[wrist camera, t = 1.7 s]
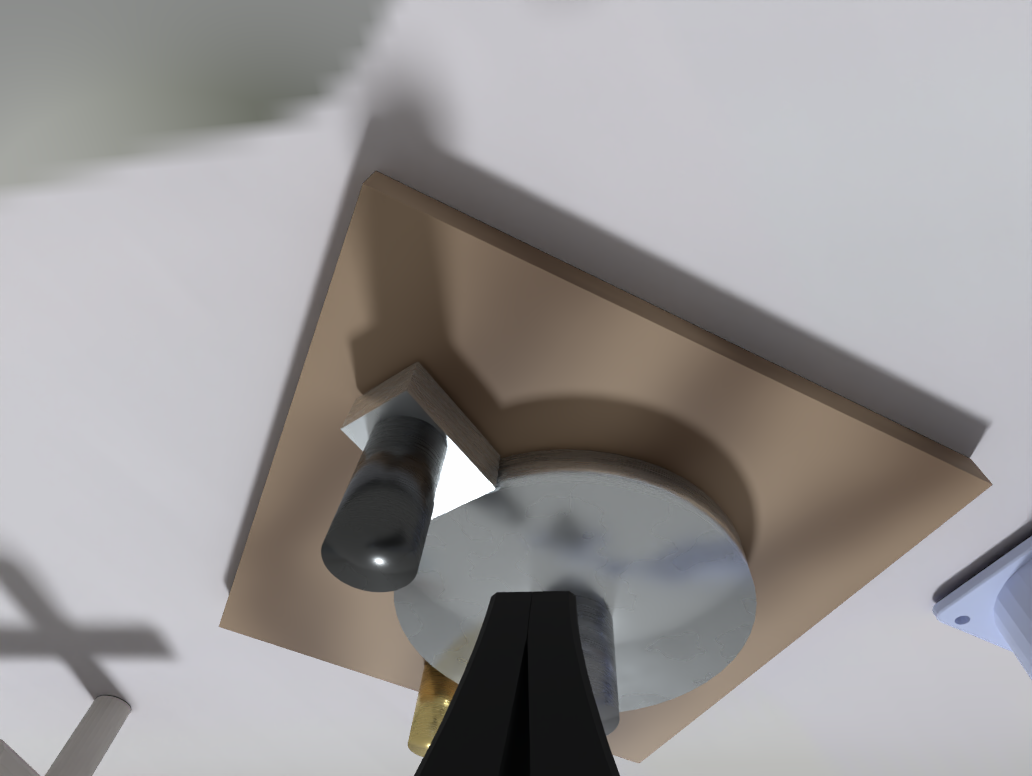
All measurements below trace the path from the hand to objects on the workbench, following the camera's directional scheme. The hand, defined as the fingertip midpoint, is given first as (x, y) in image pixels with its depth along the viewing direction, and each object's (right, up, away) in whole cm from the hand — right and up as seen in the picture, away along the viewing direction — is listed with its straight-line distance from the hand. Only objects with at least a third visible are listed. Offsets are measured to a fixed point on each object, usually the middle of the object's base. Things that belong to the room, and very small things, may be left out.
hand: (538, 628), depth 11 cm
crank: (0, -1, +10) cm, 11 cm away
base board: (+2, -2, +12) cm, 13 cm away
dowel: (-3, -8, +15) cm, 17 cm away
